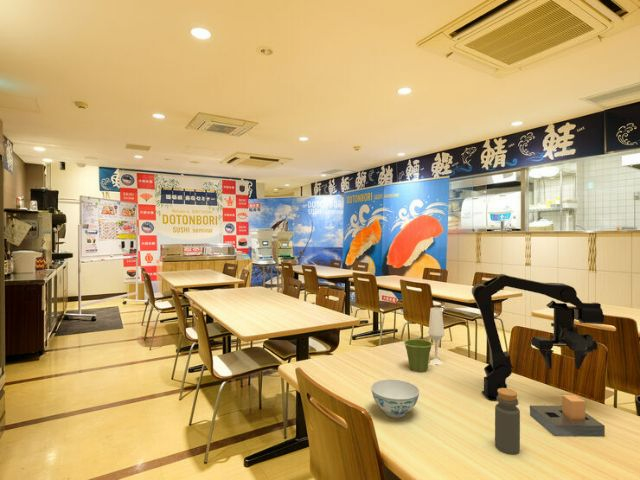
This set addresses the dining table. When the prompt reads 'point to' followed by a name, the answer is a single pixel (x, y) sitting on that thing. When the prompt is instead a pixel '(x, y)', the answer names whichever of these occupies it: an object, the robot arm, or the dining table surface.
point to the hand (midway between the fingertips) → (563, 368)
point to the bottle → (507, 422)
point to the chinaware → (395, 396)
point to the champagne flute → (436, 330)
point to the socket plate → (565, 422)
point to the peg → (573, 407)
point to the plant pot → (418, 353)
